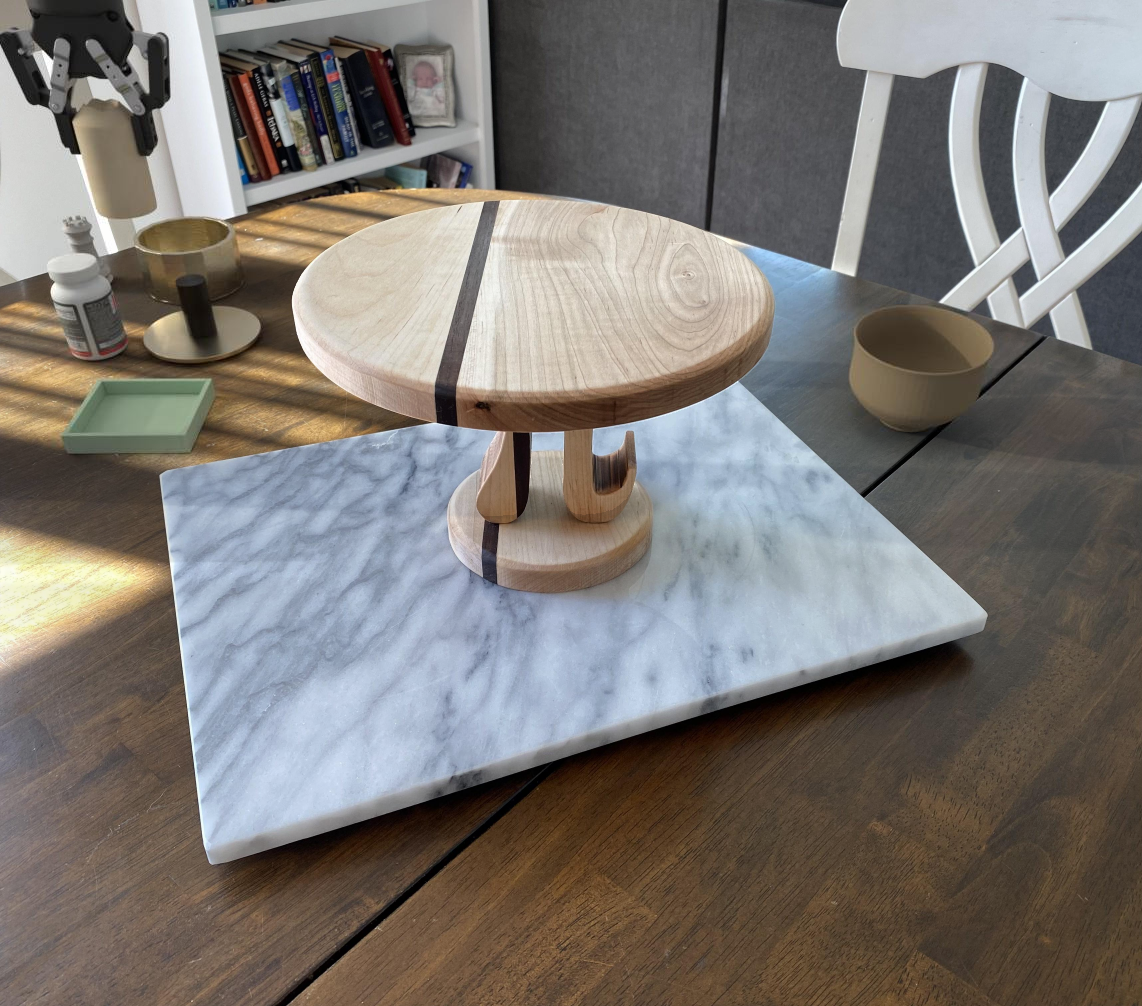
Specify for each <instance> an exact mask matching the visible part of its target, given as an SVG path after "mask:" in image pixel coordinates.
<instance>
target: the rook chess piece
mask: <svg viewBox="0 0 1142 1006" xmlns="http://www.w3.org/2000/svg"><path fill="white" fill-rule="evenodd" d="M62 223H63V225H62V227H61V232H63V233H64V234H65V235H66V236H67V237H68V239H67V243H68V244H69V245H70V247H71V250H72V253H86V254H91V255H93V256H95V257H96V259H97V261H98V264H99V267H100V272H99V275H101V276H103V277H105V278H106V279H107V280H108V281H109V283H110V285H111V284H112V282H113V280H114V276H113V274H111V269H110V267H109V266H108V265H107V264H105V261H104V260H103V259H101V257H100V256H99V253H98V252H97V249H96V247H95V244H94V239H95V238H94V236H92V235H91V231H92V228H93V224H92V223H91V222H89V220H87V217H86V216H85V215H83V216H81V215H80V214H79V215H75V219H73V217H72V215H70V216H66V218H63V219H62Z"/></svg>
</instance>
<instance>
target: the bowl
mask: <svg viewBox="0 0 1142 1006" xmlns="http://www.w3.org/2000/svg"><path fill="white" fill-rule="evenodd" d="M853 338H854V345H853V351H852V357H851V362H850V367H849V371H848V372H849V373H848V381H849V385H850V388H851V391H852V392H853V395H854V397H855V398H856V399H857V400H858V402H859V403H860V405H861V406H862V407H863V408H864V409H865V410H866V411H867V412H869V414H871V415H872V416H874V417H875V418H877V419H879V421H880V422H881V423H882V424H883V425H885V426H886V427H887V428H890V429H892V430H895V431H899V432H903V433H918V432H922V431H925V430H927V429H930V428H935V427H937V426H942V425H944V424H947V423H949V422H952V421H954V420H956V419H957V418H959V417H960V416H962V415H964V414H965V413H966V412H968V411H969V410H970V409H971V408H972V407H973V406H974V405H975V403H976V402H977V400H978V399H979V396H980V393H981V389H982V385H983V382H984V381H983V380H984V377H985V374H986V370H987V367H988V364H989V363H990V360H991V359H992V358H993V356H994V354H995V348H996V347H995V341H994V339H993V336H992V334H990V332H989V331H988V330H987V329H986V328H985V327H984V326H982V325H981V324H980V323H978V322H977V321H976V320H973V319H972V318H969V317H968V316H965V315H964V314H962V313H958V312H956V311H952V310H949V309H946V308H940V307H935V306H929V305H921V304H920V305H919V304H905V305H904V304H903V305H892V306H887V307H882V308H879V309H877V310H874V311H870V312H869V313H867V314H866V315H864V316H863V317H862V318H860V320H859V321H857V323H856V325H855V326H854V330H853Z"/></svg>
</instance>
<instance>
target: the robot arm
mask: <svg viewBox="0 0 1142 1006" xmlns="http://www.w3.org/2000/svg"><path fill="white" fill-rule="evenodd" d="M25 2H26V5H27V9H28V10H29V13H30V23H29V27H27V28H21V29H20V28H18V27H16V26H12V27H10V28H8V29H6V30H5V31H3V32H1V33H0V48H1V50H2V52H3V54H4V56H5V58H6V61H7V63H8V64H9V66H10V69H11V71H12V73H13V75H14V77H15V79H16V81H17V83H18V86H19V88H20V90H21V92H22V94H23V96H24V98H25V100H26V101H27V103H28V104H30V105H31V106H41V107H43V108H47V109H48V110H49V111H51V113H52V114H53V118H54V120H55V124H56V128H57V132H58V135H59V138H60V143H61V144H62V146H63V147H64V148H65V149H68V150H69V153H70V154H71V155H72V156H73V155H74V156H75V155H78V156H79V155H81V152H80V149H79V145H78V141H77V138H76V134H75V130H74V127H73V123H72V119H73V118H74V116H75V115H76V113H77V112H78V111H77V108H76V107H73V106H72V104H73V101H74V93H75V89H76V88H75V86H76V84H77V81H78V79H81V80H82V79H85V78H88V77H91V78H94V79H98V80H108V81H109V82H110V84H111V85H112V87H113V89H114V90H115V91H116V92H117V93H119V94H120V96H121V97H122V98H123V99H124V101H125V103H126V105H127V106H128V107H129V109H130V111H132V112H133V114H132V115H131V120H132V124H133V128H134V133H135V137H136V141H137V145H138V149H139V153H140V155H141V156H146V157H150V156H151V155H152V154H153V153H154V150H155V149H156V147H157V146H158V142H159V136H158V132H157V129H156V124H155V120H154V119H155V118H154V114H153V111H154V110H156V109H157V110H160V109H162V108H163V107H164V106H165V105H166V103H168V102H169V101H170V99H171V96H172V95H171V65H170V63H171V62H170V39H169V36H168V35H167V34H166V33H165V32H162V31H159V32H156V33H150V32H144V31H140V30H136V29H135V28H134V26H133V24H132V23H131V22H130V21H129V18H128V17H127V14H126V10H125V5H124V0H25ZM35 44H36V45H37V46H38V47H39V48H40V49H41V50H42V51H43V52H44V53H45V54H46V55H47V56H48V57H49V59H51V61H52V66H51V74H50V78H49V79H50V80H49V84H50V88H49V87H48V84H47V82H46V81H45V80H46V79H45V78H44V76H43V74H42V71H41V70H40V68H39V65H38V63H37V60H36V59H35V57H34V54H35V53H36V47H35ZM134 45H135V46H136V47H137V48H138V49H139V52H140V56H141V57H142V58H143V60H146V61H147V71H148V90H149V92H148V91H147V90H146V88H145V87H144V86H143V84H142V82H141V81H140V80H141V79H140V76H139V73H138V72H137V71H136V69H135V67H134V66H133V65H132V63H131V61H130V60H129V58H128V57H129V55H130V53H131V51H132V49H133V47H134Z"/></svg>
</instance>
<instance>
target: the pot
mask: <svg viewBox="0 0 1142 1006" xmlns="http://www.w3.org/2000/svg"><path fill="white" fill-rule="evenodd" d="M132 242H133V246H134V249H135V253H136V257H137V260H138V263H139V268H140V271H141V275H142V278H143V283H144V286H145V290H146V292H147V295H148V296H149V297H150V298H151V299H153V300H155V302H159V303H162V304H166V305H174V306H181V303H180V299H179V295H178V291H177V287H176V283H175V281H176V279H178V278H179V277H181V276H184V275H189V274H198V275H202V276H204V277H205V279H206V284H207V288H208V292H209V297H210V301H211V303H212V302H217V301H219V300H223V299H226V298H227V297H229V296H232V295H233V294H235V293H237V292H238V291H239V290H240V289H241V288H242V287H243V285H244V283H245V272H244V269H243V263H242V259H241V254H240V248H239V243H238V239H237V233H236V230H235V228H234V226H233V224H232V223H230V222H229V221H228V222H227V221H226V220H224V219H221V218H217V217H210V216H201V215H200V216H198V215H197V216H196V215H195V216H194V215H193V216H191V215H190V216H189V215H188V216H181V217H173V218H166V219H163V220H160V221H155V222H151V223H150V224H148V225H146V226H144V227H142V228H141V229H138V231H137V232H136V233H135V234H134V236H133V237H132Z"/></svg>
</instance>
